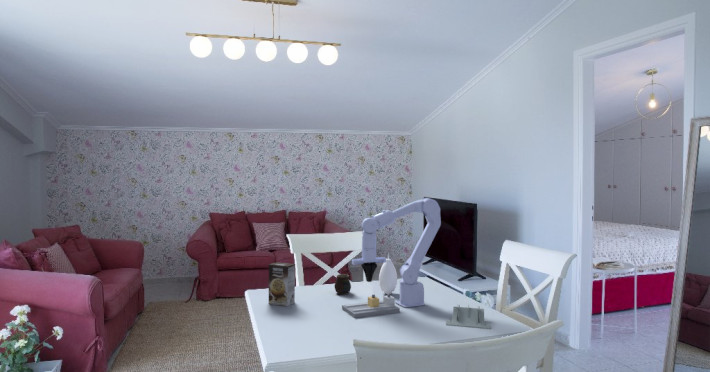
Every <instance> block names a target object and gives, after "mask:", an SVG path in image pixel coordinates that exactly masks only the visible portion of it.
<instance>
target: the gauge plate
mask: <svg viewBox="0 0 710 372" xmlns="http://www.w3.org/2000/svg"><path fill="white" fill-rule="evenodd" d="M391 294H392V293H390V294H386V295H383V296H382V297H383V299H382V300H379V306H378V307H371V306H369V305H368V301H367V302H359V303H351V304H349V303H348V304H344V305H341V310H343V312H345V313H347V314H348V315H350V317H352V318H353V319H358V318H364V317H365V318H366V317H372V316H381V315H387V314H394V313H395V314H396V313H400V312H401V311H400V307H398V306H397V305H396V298H395V297H394V296H392V295H391Z"/></svg>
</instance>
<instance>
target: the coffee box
mask: <svg viewBox="0 0 710 372" xmlns="http://www.w3.org/2000/svg"><path fill="white" fill-rule="evenodd" d="M295 288H296V263H288V262H279V261H277V262H272V263H270V264H268V304H269V305H276V306H282V307H283V306H284V307H289V306H291V305H293V304H295V303H296V301H295V298H296V293H295V292H296V289H295Z"/></svg>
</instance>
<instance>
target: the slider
mask: <svg viewBox="0 0 710 372" xmlns="http://www.w3.org/2000/svg"><path fill="white" fill-rule="evenodd" d="M379 301H380V298H379V297H378V296H376V295H375V294H371V296H367V302H368V305H369V306H371V307H378V306H379Z"/></svg>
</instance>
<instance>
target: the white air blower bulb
mask: <svg viewBox="0 0 710 372" xmlns="http://www.w3.org/2000/svg"><path fill="white" fill-rule="evenodd" d="M378 282H379V285H378V286H379V287H380V290H381V291H382V292H383V293H384V294H385V295H387V294H392V293H393V292H395V290H396V288H397V286H398V285H397V284H398V274H397V270H396V267H395V264H394V263H393V261H392V259H391V258H390V253H389V252H388V253H387V258H386V263H383V262H382V265H381V268H380V271H379V275H378Z"/></svg>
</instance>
